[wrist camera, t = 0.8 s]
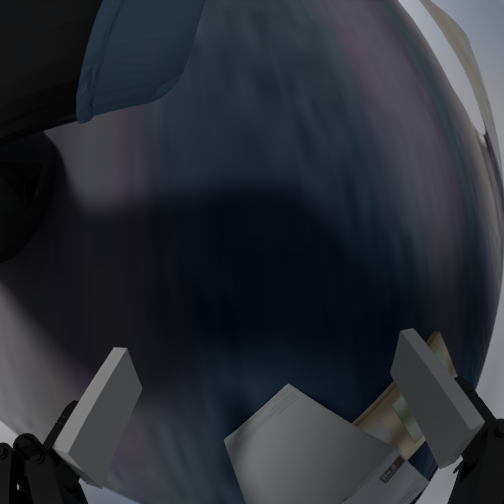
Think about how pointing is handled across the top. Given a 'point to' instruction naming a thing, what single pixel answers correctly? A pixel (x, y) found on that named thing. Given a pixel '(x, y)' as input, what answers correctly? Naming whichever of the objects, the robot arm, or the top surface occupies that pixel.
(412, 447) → the board
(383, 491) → the skincare box
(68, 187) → the top surface
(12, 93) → the robot arm
